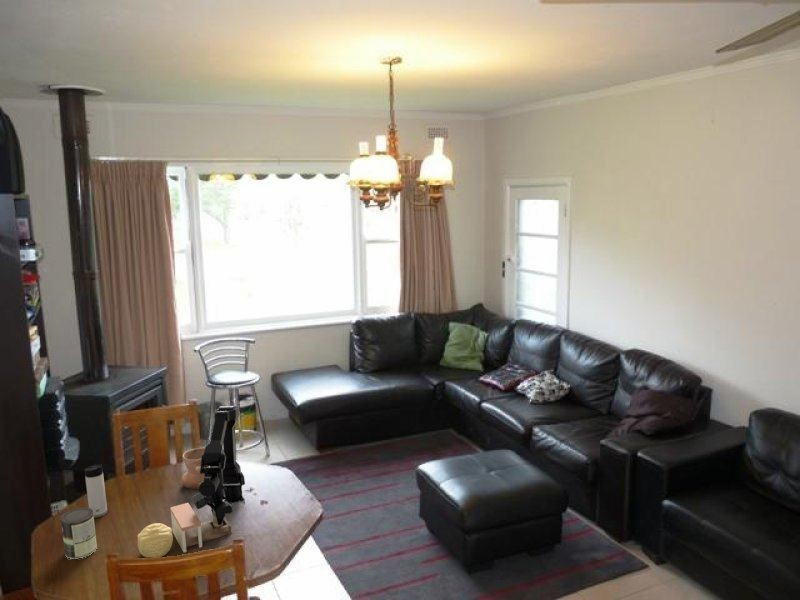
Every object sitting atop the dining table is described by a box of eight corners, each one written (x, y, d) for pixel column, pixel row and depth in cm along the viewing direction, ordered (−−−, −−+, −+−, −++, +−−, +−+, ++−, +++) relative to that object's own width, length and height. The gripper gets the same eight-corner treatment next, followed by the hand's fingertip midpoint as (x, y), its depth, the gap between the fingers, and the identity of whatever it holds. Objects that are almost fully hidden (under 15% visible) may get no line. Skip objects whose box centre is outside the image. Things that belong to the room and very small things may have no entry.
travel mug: (101, 518, 247) (95, 470, 243) (86, 517, 248) (80, 468, 244) (111, 510, 253) (106, 463, 249) (96, 508, 254) (91, 461, 250)
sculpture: (139, 566, 216) (136, 537, 214) (138, 548, 227) (135, 520, 225) (175, 558, 220) (172, 529, 218) (172, 540, 231) (170, 513, 229)
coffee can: (59, 561, 220) (55, 523, 217) (72, 544, 230) (67, 508, 227) (90, 559, 220) (86, 521, 218) (101, 542, 231) (97, 506, 228)
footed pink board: (190, 526, 240) (188, 502, 239) (202, 547, 226) (200, 522, 225) (172, 531, 237) (170, 507, 235) (184, 553, 223) (181, 528, 221)
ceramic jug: (218, 490, 268) (216, 458, 265) (181, 496, 263) (179, 463, 261) (216, 473, 285) (214, 442, 282) (182, 477, 280) (179, 447, 278)
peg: (221, 524, 239) (220, 505, 238) (224, 529, 236) (223, 509, 235) (212, 527, 237) (210, 508, 236) (215, 532, 234) (213, 512, 233)
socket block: (224, 523, 242) (224, 516, 241) (231, 533, 235) (231, 525, 235) (180, 536, 233) (179, 529, 233) (185, 547, 227) (185, 539, 226)
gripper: (186, 478, 237) (189, 517, 240) (200, 499, 221) (203, 540, 224) (216, 471, 243) (218, 509, 246) (231, 490, 227) (234, 531, 230)
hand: (218, 522), depth 236 cm, fingers open, 4 cm apart
